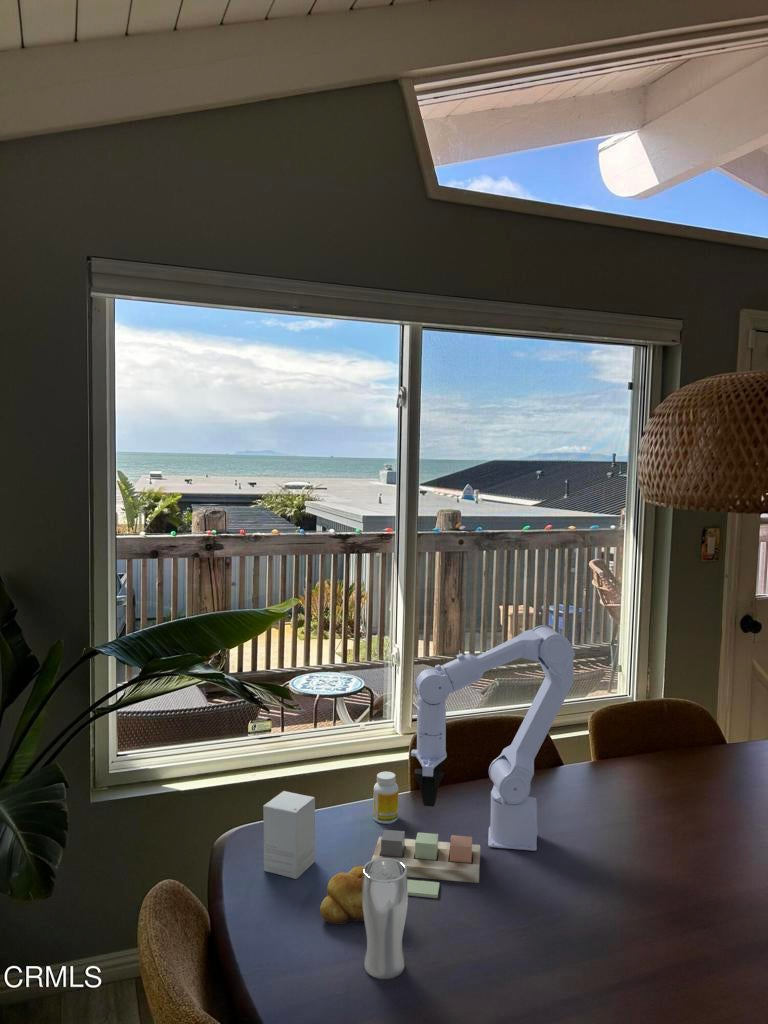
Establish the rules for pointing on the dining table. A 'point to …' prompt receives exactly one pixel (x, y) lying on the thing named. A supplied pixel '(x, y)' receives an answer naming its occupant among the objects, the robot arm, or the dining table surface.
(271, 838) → the supplement box
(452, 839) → the key terracotta
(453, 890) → the dining table surface
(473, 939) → the dining table surface
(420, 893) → the tile
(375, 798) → the supplement bottle
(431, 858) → the key sage
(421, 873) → the key console
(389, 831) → the key charcoal
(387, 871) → the beer glass
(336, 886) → the bread roll
